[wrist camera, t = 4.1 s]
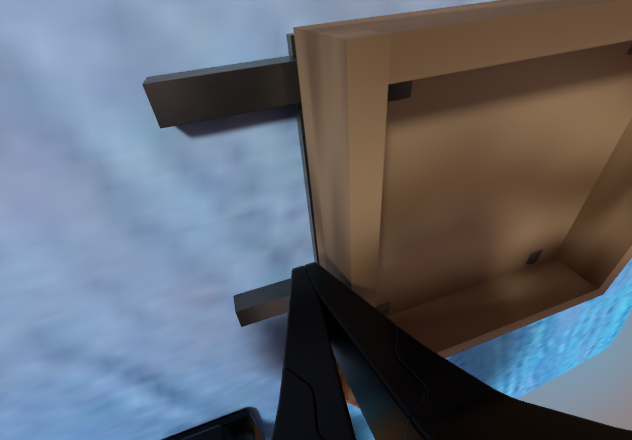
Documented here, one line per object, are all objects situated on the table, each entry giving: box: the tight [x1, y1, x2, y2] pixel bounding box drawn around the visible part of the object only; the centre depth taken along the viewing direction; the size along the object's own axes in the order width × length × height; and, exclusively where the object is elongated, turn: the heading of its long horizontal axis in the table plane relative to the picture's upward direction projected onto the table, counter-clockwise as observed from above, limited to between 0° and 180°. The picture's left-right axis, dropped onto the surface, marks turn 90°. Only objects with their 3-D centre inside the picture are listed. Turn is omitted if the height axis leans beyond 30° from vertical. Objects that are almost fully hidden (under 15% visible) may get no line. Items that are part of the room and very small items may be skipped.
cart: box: [293, 0, 632, 358], centre depth 12 cm, size 13×14×4 cm
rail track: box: [142, 33, 320, 327], centre depth 14 cm, size 12×28×3 cm, turn 95°
